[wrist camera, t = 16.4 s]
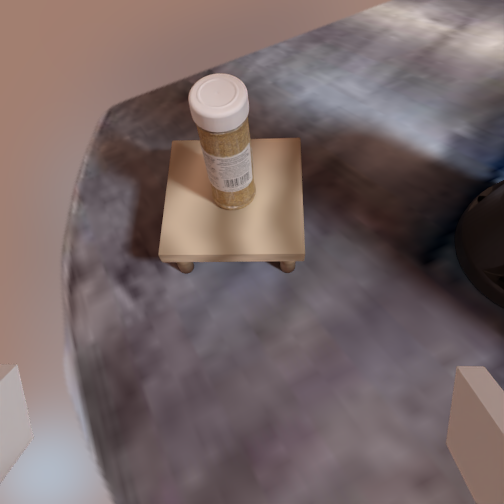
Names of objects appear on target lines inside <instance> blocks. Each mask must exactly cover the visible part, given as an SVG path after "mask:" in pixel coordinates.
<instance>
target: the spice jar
mask: <svg viewBox="0 0 504 504" xmlns="http://www.w3.org/2000/svg"><path fill="white" fill-rule="evenodd" d="M188 100H189V106H190V111H191V115H192V118H193V120H194V122H195V124H196V125H197V129H198V134H199V137H200V145H201V148H202V152H203V157H204V161H205V165H206V169H207V173H208V178H209V180H210V183H211V187H212V196H213V199H214V201H215V202H216V204H217V205H219V206H220V207H222V208H224V209H228V210H239V209H242V208H244V207H246V206H248V205H249V204H250V203H251V202H252V201H253V199H254V197H255V194H256V186H255V183H254V175H253V170H254V166H253V155H252V148H251V142H250V133H249V124H248V114H249V99H248V92H247V89H246V86H245V85H244V83H243V82H242V81H241V80H240V79H238V78H237V77H235V76H232V75H229V74H221V73H220V74H212V75H208V76H205V77H203V78H201V79H200V80H198V81H197V82H196V83H195V84H194V85H193V86H192V88H191V90H190V92H189V96H188Z"/></svg>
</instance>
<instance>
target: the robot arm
mask: <svg viewBox="0 0 504 504" xmlns="http://www.w3.org/2000/svg"><path fill="white" fill-rule="evenodd" d="M455 249H456V254H457V257H458V260H459V263H460V265H461V267H462V269H463V271H464V272H465V274H466V276H467V277H468V278H469V280H470V281H471V282H472V284H473V285H474V286H475V287H476V288H477V289H478V290H479V291H480V292H481V293H482V294H484V295H485V296H486V297H487V298H489V299H490V300H491V301H493V302H494V303H496V304H498V305H499V306H501V307H503V308H504V180H503V181H501V182H499V183H497V184H495V185H493V186H492V187H489V188H488V189H486V190H485V191H483V192H482V193H480V194H479V195H478V196H477V197H476V198H475V199H474V200H473V201H472V202H471V203H470V204H469V206H468V207H467V209H466V210H465V211H464V213H463V214H462V216H461V217H460V219H459V222H458V224H457V227H456V232H455ZM33 438H34V437H33V432H32V427H31V423H30V418H29V414H28V409H27V405H26V400H25V396H24V392H23V387H22V383H21V378H20V374H19V369H18V365H17V364H0V484H1V482H2V481H3V479H4V478H5V477H6V475H7V474H8V473H9V471H10V470H11V468H12V467H13V466H14V464H15V463H16V461H17V460H18V459H19V457H20V456H21V454H22V453H23V452H24V450H25V449H26V447H27V446H28V445H29V444H30V442H31V441H32V439H33ZM446 444H447V446H448V448H449V450H450V452H451V454H452V456H453V458H454V460H455V462H456V464H457V466H458V468H459V470H460V472H461V474H462V476H463V478H464V480H465V482H466V484H467V486H468V488H469V490H470V492H471V494H472V496H473V498H474V500H475V502H476V504H504V391H503V390H502V389H501V387H500V386H499V385H498V384H497V382H496V381H495V380H494V379H493V377H492V376H491V375H490V373H489V372H488V371H487V370H486V368H485V367H480V366H457V368H456V376H455V383H454V390H453V397H452V405H451V412H450V419H449V426H448V434H447V441H446Z"/></svg>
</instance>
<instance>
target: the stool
mask: <svg viewBox="0 0 504 504" xmlns="http://www.w3.org/2000/svg"><path fill="white" fill-rule="evenodd" d="M250 142H251V148H252V155H253V166H254V170H253V175H254V183H255V186H256V194H255V197H254V199H253V201H252V202H251V203H250V204H249V205H248V206H246V207H244V208H242V209H239V210H228V209H224V208H222V207H220V206H219V205H217V204H216V202H215V201H214V199H213V196H212V187H211V183H210V180H209V178H208V173H207V169H206V165H205V161H204V157H203V152H202V148H201V145H200V140H187V141H172V149H171V157H170V165H169V173H168V181H167V189H166V197H165V205H164V213H163V221H162V229H161V237H160V246H159V254H158V255H159V257H160V259H161V261H162V262H176V263H177V265H178V267H179V269H180V271H181V272H182V273H190V272H191V271H192V270H193V269H194V264H193V262H249V261H280V268H281V270H282V271H283V272H285V273H290V272H292V271H293V270H294V269H295V261H304V258H305V242H304V218H303V193H302V168H301V144H300V138H272V139H250Z"/></svg>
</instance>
